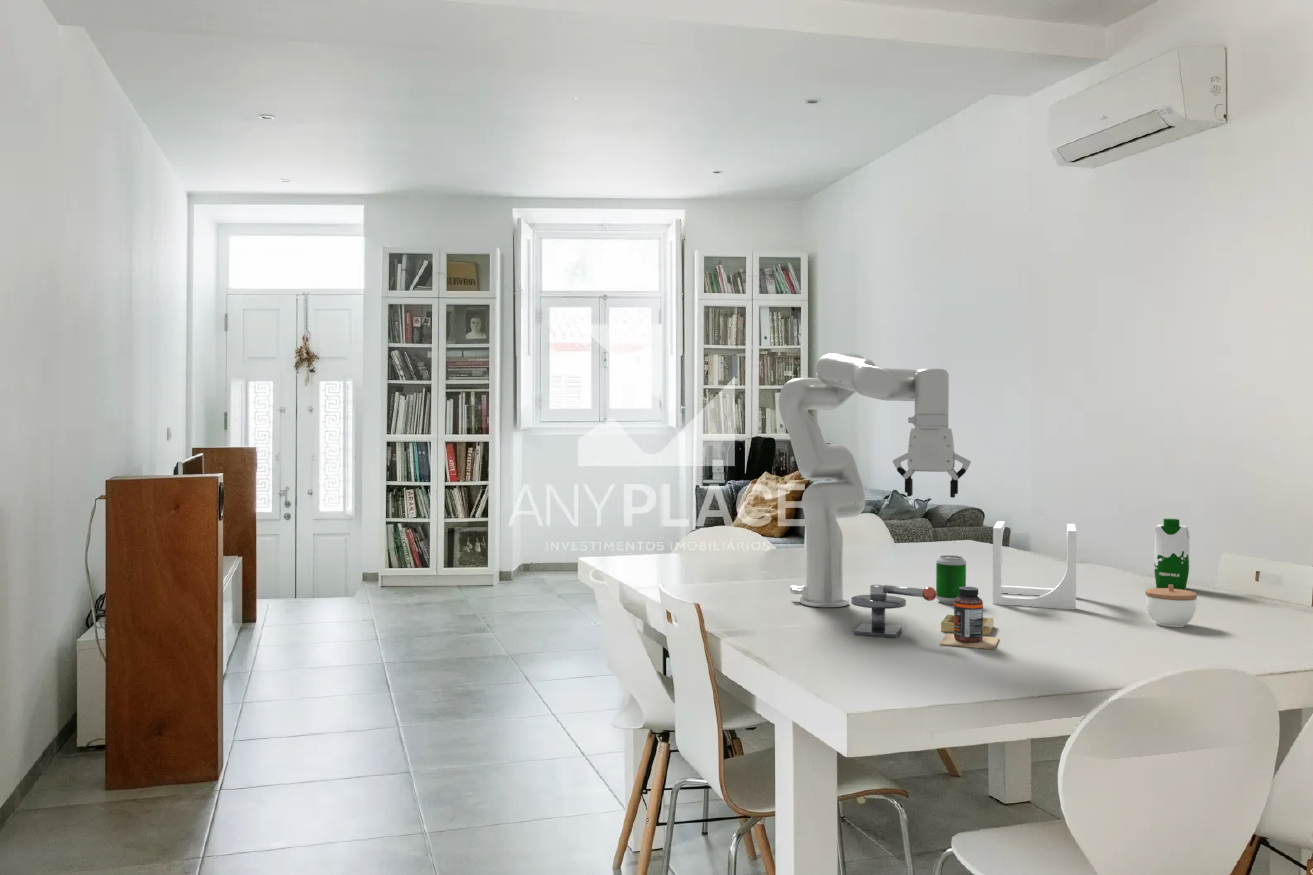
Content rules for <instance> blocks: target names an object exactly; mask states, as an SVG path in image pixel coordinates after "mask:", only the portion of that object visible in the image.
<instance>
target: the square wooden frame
mask: <svg viewBox="0 0 1313 875" xmlns="http://www.w3.org/2000/svg"><path fill="white" fill-rule="evenodd" d="M994 621H995V620H994V617H984V616H983V636H990V635H991V632H992V631H993V629H994V627H995V626H994V624H995V622H994ZM940 632H944V633H952V634H954V614H946V616H945V617H944V618H943V619H942V621H941V622H940Z"/></svg>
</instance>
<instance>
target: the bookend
mask: <svg viewBox="0 0 1313 875" xmlns="http://www.w3.org/2000/svg"><path fill="white" fill-rule="evenodd" d="M1005 526H1006V521H1005V520H1003V521H1002V520H997V521H996V522H995V524H994V526H993V527H992V604H993V605H998V606H999V605H1000V606H1013V605H1023V606H1022V607H1029V606H1032V607H1031V608H1047V609H1062V610H1074V609H1076V608H1077V607H1076V606H1077V605H1076V604H1077V584H1076V583H1077V528H1076V524H1075V523H1066V570H1065V573H1064V576H1063V577H1062V579H1061V580H1060V582H1059V583H1058V584H1057V586H1056V587H1055V588H1052V587H1051V588H1049V587H1033V586H1032V587H1031V586H1015V585H1002V562H1003V561H1002V558H1003V557H1002V554H1003V536H1004V531H1005V529H1006V527H1005ZM1001 593H1008V594H1007V595H1017V594H1022V595H1023V596H1033V595H1042V596H1033V597H1023V596H1022V595H1021V596H1022V597H1021V596H1007V595H1006V596H1005V595H1002V594H1001Z"/></svg>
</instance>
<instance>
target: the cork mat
mask: <svg viewBox="0 0 1313 875" xmlns="http://www.w3.org/2000/svg"><path fill="white" fill-rule="evenodd" d="M999 641H1000V638H999V637H998V636H997V637H996V636H987V635H983V639H982V640H981V641H980V642H972V643H970V642H961V641H958V640H956V639H955V638H954V633H951V632H946V634H945V635H944V637H943V638H942V639H941V641H940V643H939V646H944V645H947V646H946V647H955V646H956V647H957V648H967V647H975V648H974V649H978V648H985V649H984V650H989V649H992V650H993V651H995V649H996V647H997V645H998V642H999Z"/></svg>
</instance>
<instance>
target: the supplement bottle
mask: <svg viewBox="0 0 1313 875" xmlns="http://www.w3.org/2000/svg"><path fill="white" fill-rule="evenodd" d="M983 602H984V601H983V600H982V598H981V597H979V588H978V587H975V586H966V587H959V596H958V597H956V598H955V600H954V604H953V615H954V633H953V634H954V638H955V639H956V640H958V641H961V642H970V643H972V642H980V641H981V640H982V639H983V636H984V635H983V617H984V603H983Z"/></svg>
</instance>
